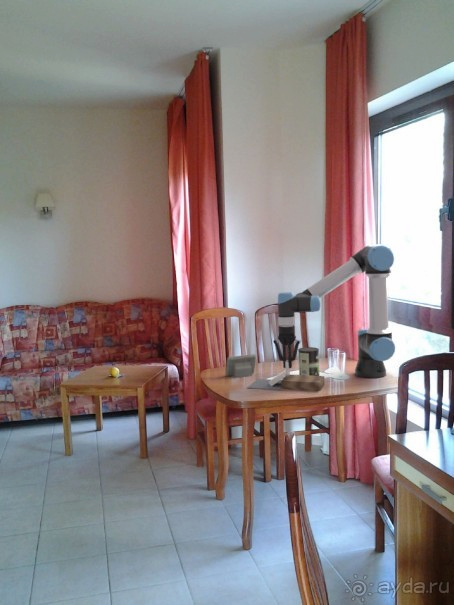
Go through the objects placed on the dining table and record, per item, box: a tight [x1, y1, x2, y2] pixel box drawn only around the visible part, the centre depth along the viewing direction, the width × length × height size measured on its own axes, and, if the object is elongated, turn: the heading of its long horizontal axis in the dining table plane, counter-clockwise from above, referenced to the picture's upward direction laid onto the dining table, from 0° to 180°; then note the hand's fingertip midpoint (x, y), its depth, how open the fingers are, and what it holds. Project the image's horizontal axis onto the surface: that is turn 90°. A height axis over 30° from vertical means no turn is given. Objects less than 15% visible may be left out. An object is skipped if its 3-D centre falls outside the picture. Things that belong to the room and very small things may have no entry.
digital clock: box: [225, 353, 257, 379], centre depth 274 cm, size 16×9×11 cm, turn 97°
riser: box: [281, 373, 325, 392], centre depth 248 cm, size 18×12×4 cm, turn 70°
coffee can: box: [297, 346, 320, 376], centre depth 265 cm, size 10×10×14 cm
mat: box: [246, 378, 282, 391], centre depth 254 cm, size 16×16×1 cm
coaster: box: [269, 369, 286, 386], centre depth 252 cm, size 8×8×2 cm
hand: (287, 374), depth 250 cm, fingers closed
